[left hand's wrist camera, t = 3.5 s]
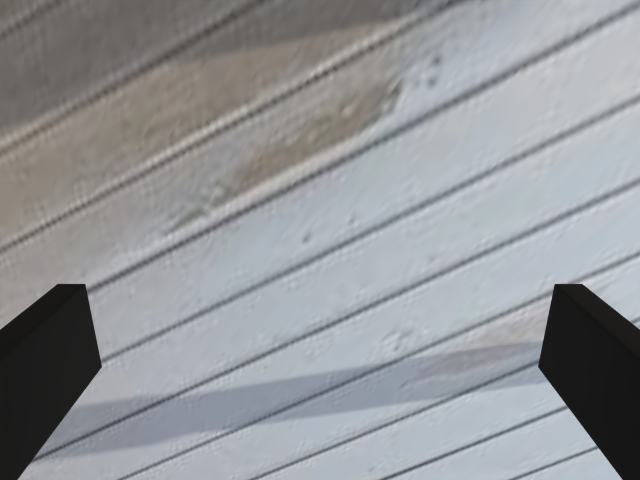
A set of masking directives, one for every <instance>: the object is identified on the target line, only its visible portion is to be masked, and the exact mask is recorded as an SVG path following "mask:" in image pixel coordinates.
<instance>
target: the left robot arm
mask: <svg viewBox="0 0 640 480" xmlns="http://www.w3.org/2000/svg"><path fill="white" fill-rule="evenodd" d="M101 367H102V365H101V360H100V355H99V350H98V345H97V340H96V335H95V330H94V325H93V320H92V315H91V310H90V305H89V300H88V295H87V290H86V285H85V284H57V285H56V286H55V287H53V288H52V289H51V290H50V291H48V292H47V293H46V294H45V295H43V296H42V297H41V298H40V299H38V300H37V301H36V302H35V303H33V304H32V305H31V306H30V307H28V308H27V309H26V310H25V311H23V312H22V313H21V314H19V315H18V316H17V317H16V318H14V319H13V320H12V321H11V322H9V323H8V324H7V325H6V326H4V327H3V328H2V329H1V330H0V480H18V478H19V477H20V476H21V474H22V473H23V472H24V470H25V469H26V468H27V466H28V465H29V464H30V462H31V461H32V460H33V458H34V457H35V456H36V454H37V453H38V452H39V450H40V449H41V448H42V446H43V445H44V444H45V442H46V441H47V440H48V438H49V437H50V436H51V434H52V433H53V431H54V430H55V429H56V427H57V426H58V425H59V423H60V422H61V421H62V419H63V418H64V417H65V415H66V414H67V413H68V411H69V410H70V409H71V407H72V406H73V405H74V403H75V402H76V401H77V399H78V398H79V397H80V395H81V394H82V393H83V391H84V390H85V389H86V387H87V386H88V385H89V383H90V382H91V381H92V379H93V378H94V377H95V375H96V374H97V373H98V371H99V370H100V369H101ZM538 367H539V369H540V370H541V371H542V373H543V374H544V375H545V377H546V378H547V379H548V381H549V382H550V383H551V385H552V386H553V387H554V389H555V390H556V391H557V393H558V394H559V395H560V397H561V398H562V399H563V401H564V402H565V403H566V405H567V406H568V407H569V409H570V410H571V411H572V413H573V414H574V415H575V417H576V418H577V419H578V421H579V422H580V423H581V425H582V426H583V427H584V429H585V430H586V431H587V433H588V434H589V436H590V437H591V438H592V440H593V441H594V442H595V444H596V445H597V446H598V448H599V449H600V450H601V452H602V453H603V454H604V456H605V457H606V458H607V460H608V461H609V462H610V464H611V465H612V466H613V468H614V469H615V470H616V472H617V473H618V474H619V476H620V477H621V478H622V480H640V330H639V329H638V328H637V327H636V326H634V325H633V324H632V323H631V322H629V321H628V320H627V319H626V318H624V317H623V316H622V315H621V314H619V313H618V312H617V311H615V310H614V309H613V308H612V307H610V306H609V305H608V304H607V303H605V302H604V301H603V300H602V299H600V298H599V297H598V296H597V295H595V294H594V293H593V292H592V291H590V290H589V289H588V288H587V287H585V286H584V285H583V284H555V285H554V290H553V295H552V300H551V305H550V310H549V315H548V320H547V325H546V330H545V335H544V340H543V345H542V350H541V355H540V360H539V365H538Z"/></svg>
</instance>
